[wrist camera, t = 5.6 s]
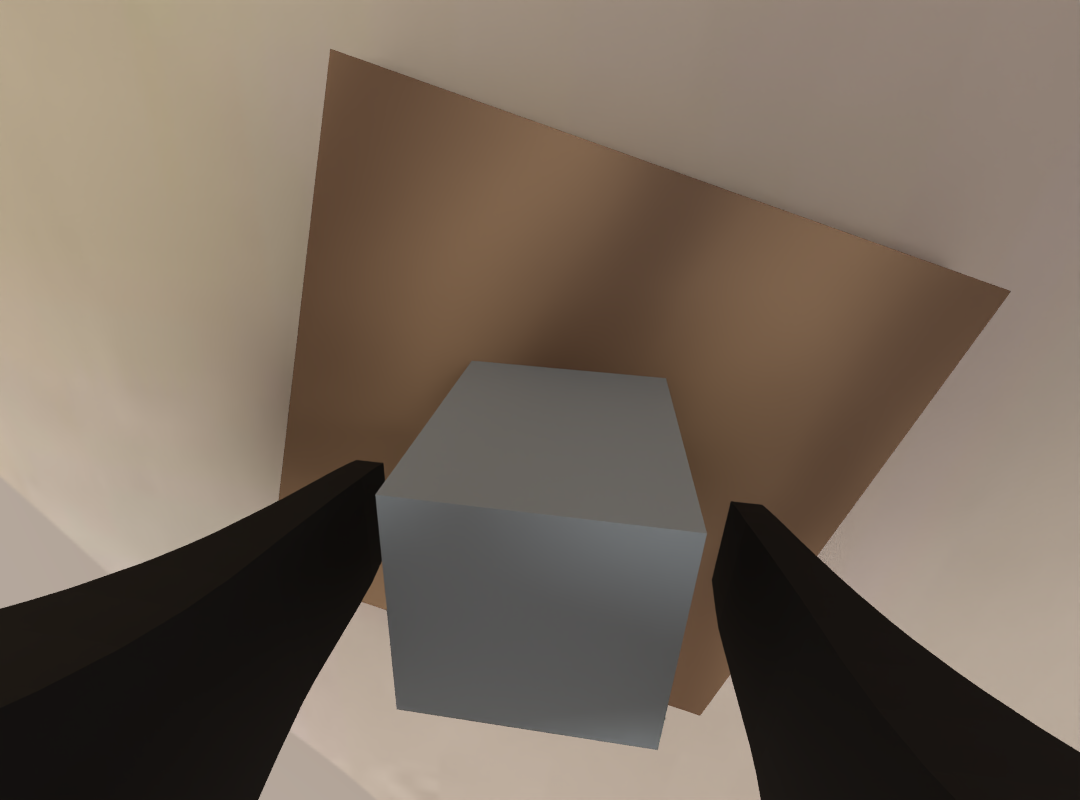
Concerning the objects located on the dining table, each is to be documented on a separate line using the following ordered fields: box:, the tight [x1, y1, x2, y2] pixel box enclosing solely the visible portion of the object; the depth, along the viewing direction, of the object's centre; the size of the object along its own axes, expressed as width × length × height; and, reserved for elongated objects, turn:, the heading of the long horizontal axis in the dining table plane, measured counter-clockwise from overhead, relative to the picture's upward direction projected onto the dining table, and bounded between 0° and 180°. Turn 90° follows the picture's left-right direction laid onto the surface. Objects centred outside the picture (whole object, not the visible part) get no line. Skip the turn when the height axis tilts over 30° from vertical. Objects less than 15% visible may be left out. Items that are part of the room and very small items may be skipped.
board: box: [279, 49, 1011, 715], centre depth 14 cm, size 14×14×2 cm
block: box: [375, 361, 707, 750], centre depth 10 cm, size 4×4×6 cm
